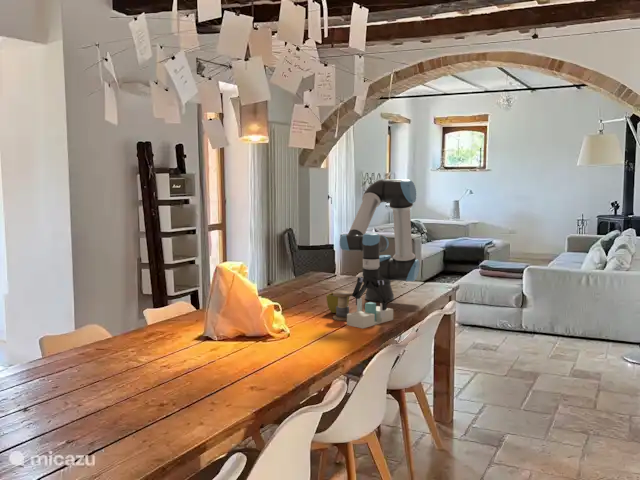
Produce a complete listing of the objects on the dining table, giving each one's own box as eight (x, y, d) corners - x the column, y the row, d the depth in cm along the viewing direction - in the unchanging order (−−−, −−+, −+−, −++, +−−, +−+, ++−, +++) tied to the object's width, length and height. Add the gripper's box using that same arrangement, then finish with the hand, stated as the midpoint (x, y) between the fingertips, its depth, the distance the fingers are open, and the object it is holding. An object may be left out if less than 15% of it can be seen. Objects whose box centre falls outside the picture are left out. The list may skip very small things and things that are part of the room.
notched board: (377, 316, 293) (377, 306, 292) (393, 319, 287) (393, 308, 286) (346, 325, 277) (346, 314, 276) (362, 328, 271) (362, 317, 270)
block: (369, 319, 284) (370, 301, 283) (375, 320, 282) (376, 303, 281) (365, 320, 282) (365, 303, 281) (371, 321, 279) (371, 304, 278)
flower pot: (325, 313, 300) (325, 294, 299) (333, 309, 308) (333, 291, 306) (342, 315, 296) (342, 296, 295) (350, 311, 303) (350, 293, 302)
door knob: (341, 315, 295) (341, 290, 294) (356, 318, 289) (356, 292, 288) (328, 318, 289) (328, 293, 287) (343, 321, 283) (343, 295, 281)
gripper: (344, 266, 285) (344, 312, 287) (388, 272, 268) (387, 320, 270) (355, 264, 290) (355, 309, 292) (398, 269, 273) (398, 317, 276)
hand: (370, 315), depth 281 cm, fingers open, 13 cm apart
